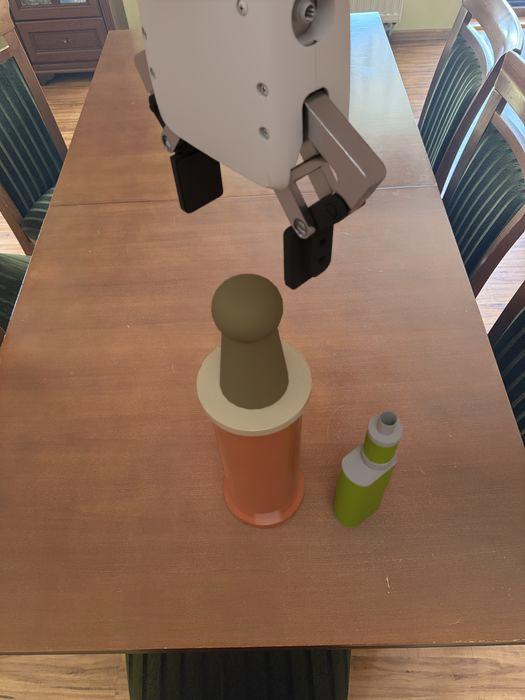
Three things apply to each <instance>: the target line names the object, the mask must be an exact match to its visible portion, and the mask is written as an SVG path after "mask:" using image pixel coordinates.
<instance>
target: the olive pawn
mask: <svg viewBox="0 0 525 700" xmlns="http://www.w3.org/2000/svg"><path fill="white" fill-rule="evenodd" d="M210 304H211V306H210V307H211V309H210V310H211V317H212V319H213V322H214V325H215V326H216V329H218V331H219V332H220V333H221V334H220V335H221V336H220V345H221V358H220V388H221V391H222V394H223V395H224V396H225V398H226V399H227V400H228V401H229V402H230V403H232V404H234V405H236V406H237V407H240V408H244V409H249V410H252V409H262V408H265V407H268V406H271V405H273V404H274V403H276V402H277V401H279V400H280V399H281V397H282V396H283V395H284V394H285V392H286V390H287V387H288V384H289V378H288V370H287V366H286V362H285V357H284V353H283V349H282V344H281V340H282V339H281V335H280V332H279V328H278V327H280V323H281V320H282V318H283V315H284V300H283V297H282V294H281V292H280V290H279V288H278V287H277V286H276V285H275V284H274V283H273V282H272V281H271V280H270V279H268V278H267V277H265V276H262V275H261V274H255V273H240V274H236V275H232V276H231V277H229V278H227V279H225V280H224V281H222V283H221V284H220V285H219V286H218V287H217V288H216V290H215V291H214V294H213V295H212V297H211V303H210Z"/></svg>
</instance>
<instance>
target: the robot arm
mask: <svg viewBox="0 0 525 700" xmlns="http://www.w3.org/2000/svg"><path fill="white" fill-rule="evenodd" d="M136 2H137V9H138V10H137V11H138V15H139V23H140V28H141V34H142V41H143V46H144V49H143V50H141V51H140V52H138V53H136V54H135V55H134V56H133V61H134V66H135V67H136V70H137V73H138V74H139V77H140V79H141V81H142V84H143V86H144V88H145V90H146V93H147V94H149V95H148V104H149V105H148V107H149V110H150V112H151V113H153V115H154V116H155V119H156V120H157V121H158V123H159V125H160V127H161V128H162V132H161V134H160V140H161V144H162V146H163V147H164V149H165V151H167V152H168V153H169V154H172V155H171V156H169V160H170V161H169V162H170V165H171V170H172V174H173V179H174V185H175V189H176V192H177V193H176V194H177V199H178V202H179V207H180V209H181V211H183V212H184V213H186V214H192V213H194V212H196V211H198V210H200V209H201V208H203V207H204V206H207V205H208V204H210V203H212V202H213V201H216V200H218V199H219V198H220V197H222V196H223V194H224V183H223V176H222V175H223V174H222V169H221V168H222V167H221V165H223V166H225V167H227V168H228V169H230V170H232V171H233V172H234V173H237V174H238V175H240V176H242V177H243V178H245V179H247V180H249V181H250V182H252V183H254V184H256V185H259V186H260V187H263V188H266V189H269V190H273V192H274V194H275V196H276V198H277V200H278V202H279V204H280V206H281V208H282V210H283V212H284V214H285V216H286V218H287V219H288V221H289V223H290V225H289V226H288V227H286V228H285V230H284V231H283V234H282V249H283V250H282V251H283V253H282V254H283V255H282V256H283V281H284V285H285V286H286V287H288V288H289V289H291V290H292V291H295V290H297V289H298V288H300V287H301V286H302V285H304V284H306V283H307V282H308V281H309V280H311V279H312V278H317V277H319V276H320V275H322V274H323V273H324V272H325V271H327V269H328V268H329V266H330V264H331V263H332V258H333V257H332V256H333V255H332V254H333V242H334V241H333V240H334V231H335V230H334V229H335V225H336V224H339V223H340V222H342V221H343V220H344V219H346V218H348V217H349V216H351V215H352V214H353V213H355V212H356V211H358V210H359V209H361V208H362V207H364V206H365V205H366V203H367V200H368V199H370V197H371V196H372V195H373V194H374V192H375V191H376V190H377V189H378V187H379V186H380V185H381V184H382V183H383V181H384V180H385V179H386V177H387V168H386V165H385V164H384V162H383V160H382V159H381V158H380V157H379V156H378V154H377V153H376V152H375V151H374V150H373V149H372V147H371V146H370V145H369V144H368V142H366V140H365V139H364V138H363V136H362V135H361V134H360V133H359V132H358V130H357V129H356V128H355V127H354V126H353V124H351V122H350V120H349V117H350V99H351V54H352V53H351V50H352V48H351V46H352V45H351V7H350V6H351V5H350V0H136ZM173 153H174V154H173ZM299 156H300V157H301V159H302V161H301V162H300V163H298V159H299ZM297 163H298V164H297ZM333 171H334V172H333ZM334 173H335V175H336V177H335V175H334ZM306 176H307V178H308V179H309V181H310V183H311V185H312V187H313V189H314V192H315V193H316V196H317V198H318V200H317V201H315V202H313V203H312V204H311V205H309V206H308V204H307V203H306V200H305V199H304V198H305V197H304V196H303V194H302V192H301V190H300V188H299V186H298V184H297V182H298V181H299V180H302V179H303V178H305V177H306ZM336 178H337V179H336Z"/></svg>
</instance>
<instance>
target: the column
mask: <svg viewBox="0 0 525 700" xmlns="http://www.w3.org/2000/svg"><path fill="white" fill-rule="evenodd" d="M280 340H281V344H282V349H283V353H284V357H285V362H286V366H287V370H288V378H289V384H288V387H287V390H286V392H285V394H284V395H283V396H282V397H281V399H280V400H279V401H277V402H276V403H274V404H273V405H271V406H268V407H265V408H262V409H252V410H249V409H244V408H240V407H237V406H236V405H234V404H232V403H230V402H229V401H228V400H227V399H226V398H225V396H224V395H223V394H222V391H221V388H220V358H221V344H220V345H219V346H217V347H216V348H214V349H213V350H212V351H211V352H210V353H209V354H208V355H207V356H206V357H205V358H204V360H203V362H202V363H201V365H200V367H199V370H198V373H197V377H196V393H197V397H198V398H197V399H198V402H199V405H200V407H201V409H202V410H203V413H204V414H205V416H206V417H207V418H208V419H209V420H210V421H211V422H212V425H213V430H214V433H215V434H214V435H215V438H216V442H217V443H216V444H217V447H218V451H219V455H220V460H221V462H222V468H223V472H224V476H223V482H222V491H223V493H222V494H223V497H224V500H225V504H226V506H227V508H228V510H229V511H230V513H231V514H232V515H233V516H234V517H235V519H237V520H238V521H239V522H241V523H243V524H244V525H247V526H249V527H252V528H256V529H270V528H276V527H278V526H281V525H283V524H285V523H287V522H288V521H289V520H291V519H292V518H293V517H294V516H295V515H296V514H297V512H298V511H299V510H300V508H301V506H302V503H303V501H304V497H305V489H306V485H305V483H306V482H305V477H304V472H303V471H302V468H301V453H302V452H301V450H302V446H301V445H302V425H303V413H304V411H306V408H307V407H308V404H309V402H310V399H311V396H312V395H311V394H312V387H313V386H312V385H313V381H312V380H313V378H312V371H311V368H310V366H309V364H308V362H307V360H306V358H305V357H304V355H303V354H302V353H301V352H300V351H299V350H298V349H297V348H295V346H293V345H291V344H290V343H288V342H286V341H285V340H282V339H280Z"/></svg>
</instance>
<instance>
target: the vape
mask: <svg viewBox="0 0 525 700" xmlns="http://www.w3.org/2000/svg"><path fill="white" fill-rule="evenodd" d="M403 434H404V426H403V423H402V422H401V421H400V419H399V418H398V415H397V414H396V413H395V412H394V411H392V410H383V411H382V412H381V413H376V414H374V415H372V416H371V418H370V419H369V421H368V423H367V427H366V432H365V436H364V440H363V442H362V443H361V444H359V445H358V446H357V447H355V448H354V449H352V451H350V452H349V453H347V454H346V455H345V456H343V458H342V460H341V464H340V469H339V474H338V480H337V485H336V490H335V494H334V499H333V505H332V514H333V516H334V518H335V519H336V521H337V522H338V523H339V524H340V525H341V526H343V527H345V528H347V529H356V528H357V527H358V526H360V525H361V524H362V523H363V522H364V521H366V520H367V519H368V518H369V517H370V516H372V515H373V514H374V513H375V512H376V511H377V510H378V509H379V507H380V504H381V503H382V500H383V497H384V494H385V492H386V489H387V487H388V484H389V482H390V479H391V477H392V475H393V472H394V469H395V467H396V465H397V462H398V456H397V452H396V451H397V448H398V446H399V444H400V441H401V439H402V437H403Z"/></svg>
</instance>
